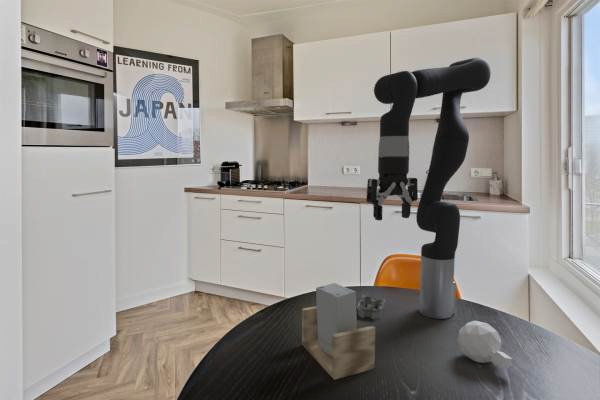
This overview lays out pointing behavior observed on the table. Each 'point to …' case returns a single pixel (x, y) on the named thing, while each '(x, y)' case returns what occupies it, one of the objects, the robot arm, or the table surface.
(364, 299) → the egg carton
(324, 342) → the skincare box
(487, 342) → the perfume bottle
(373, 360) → the holder
